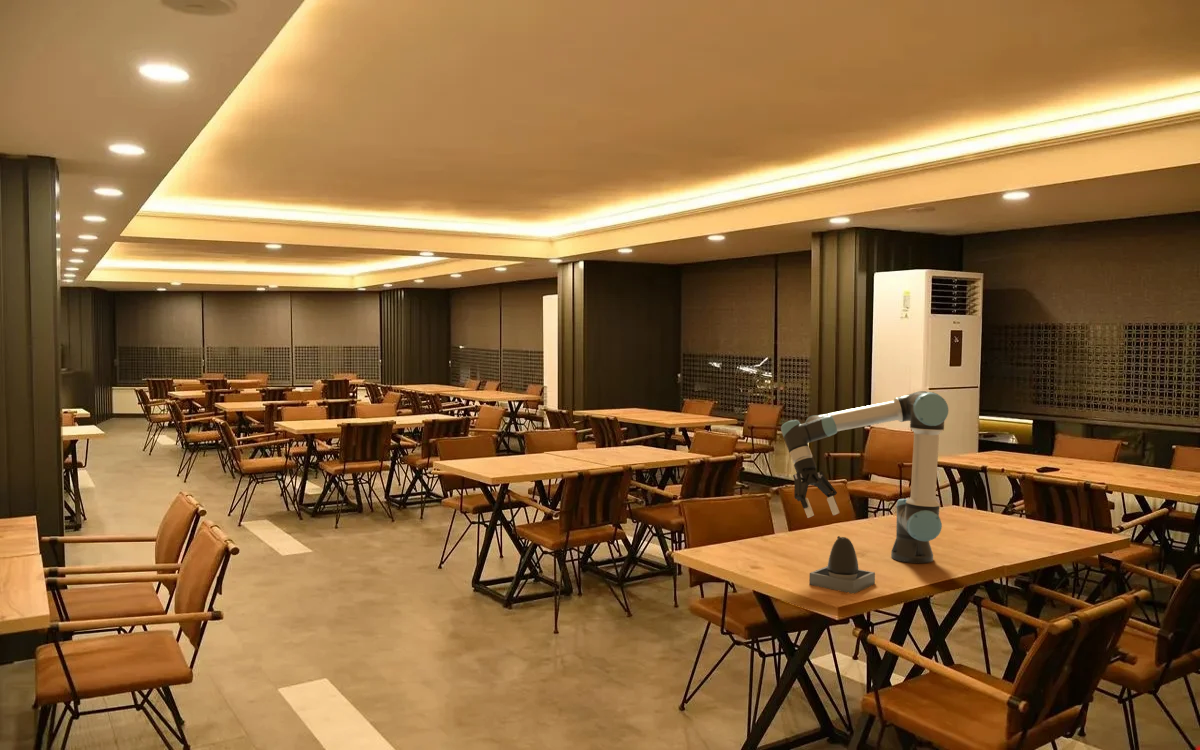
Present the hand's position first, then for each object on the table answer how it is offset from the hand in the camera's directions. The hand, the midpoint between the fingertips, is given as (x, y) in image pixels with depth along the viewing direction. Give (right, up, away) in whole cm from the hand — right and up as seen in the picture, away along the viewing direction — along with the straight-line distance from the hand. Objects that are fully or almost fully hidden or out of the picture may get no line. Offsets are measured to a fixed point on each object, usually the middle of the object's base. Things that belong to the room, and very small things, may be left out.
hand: (823, 515), depth 305 cm
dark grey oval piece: (+2, -20, -15) cm, 25 cm away
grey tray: (+2, -21, -15) cm, 26 cm away
